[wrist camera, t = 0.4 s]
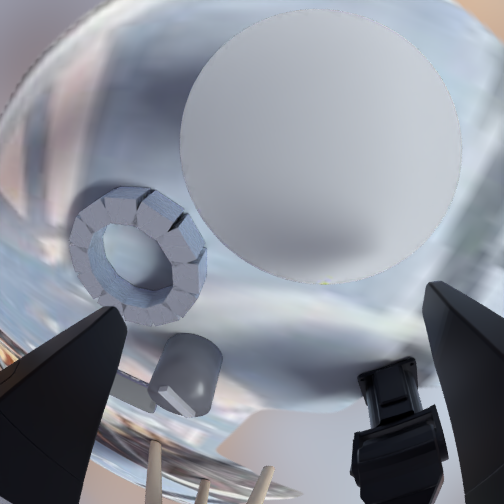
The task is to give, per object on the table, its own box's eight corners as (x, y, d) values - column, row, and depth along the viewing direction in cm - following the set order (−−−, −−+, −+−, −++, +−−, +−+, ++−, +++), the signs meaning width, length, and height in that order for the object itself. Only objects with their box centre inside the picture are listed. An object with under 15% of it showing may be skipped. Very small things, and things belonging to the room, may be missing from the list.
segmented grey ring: (231, 287, 25) (226, 306, 23) (132, 318, 28) (122, 334, 26) (159, 161, 20) (144, 169, 18) (66, 221, 24) (49, 234, 21)
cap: (232, 366, 30) (221, 419, 24) (186, 375, 32) (170, 422, 26) (203, 327, 28) (184, 382, 22) (155, 339, 29) (132, 388, 24)
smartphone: (59, 341, 32) (161, 393, 34) (63, 336, 33) (163, 387, 34) (64, 369, 36) (153, 415, 37) (67, 365, 37) (155, 410, 38)
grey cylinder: (217, 129, 19) (131, 177, 8) (295, 37, 15) (304, -41, 5) (311, 203, 21) (331, 323, 10) (390, 120, 17) (500, 160, 7)
